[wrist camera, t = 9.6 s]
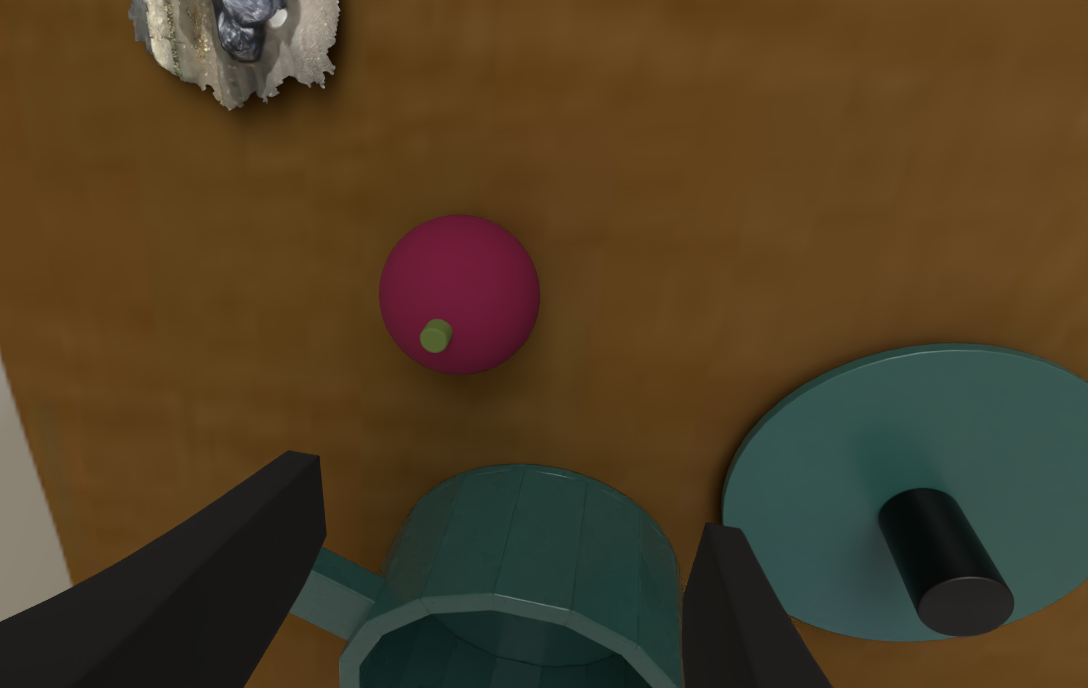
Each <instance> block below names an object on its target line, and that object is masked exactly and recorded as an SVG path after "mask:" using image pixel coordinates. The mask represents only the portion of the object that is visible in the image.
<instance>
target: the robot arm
mask: <svg viewBox="0 0 1088 688" xmlns="http://www.w3.org/2000/svg"><path fill="white" fill-rule="evenodd" d="M326 535H327V534H326V523H325V512H324V501H323V490H322V479H321V468H320V457H319V456H317V455H312V454H306V453H300V452H294V451H289V450H288V451H287V452H285V453H284V454H282V455H281V456H279V457H278V458H276V459H275V460H273V461H272V462H271V463H269V464H268V465H266V466H265V467H263V468H262V469H260V470H259V471H258V472H256V473H255V474H253V475H252V476H250V477H249V478H247V479H246V480H245V481H243V482H242V483H240V484H239V485H237V486H236V487H235V488H233V489H232V490H230V491H229V492H227V493H226V494H224V495H223V496H222V497H220V498H219V499H217V500H216V501H214V502H213V503H211V504H210V505H208V506H207V507H205V508H204V509H202V510H201V511H199V512H198V513H196V514H195V515H193V516H192V517H190V518H189V519H187V520H186V521H184V522H183V523H181V524H180V525H178V526H176V527H175V528H173V529H172V530H170V531H168V532H167V533H165V534H164V535H162V536H160V537H159V538H157V539H155V540H154V541H152V542H151V543H149V544H147V545H146V546H144V547H143V548H141V549H139V550H138V551H136V552H134V553H133V554H131V555H130V556H128V557H126V558H124V559H123V560H121V561H119V562H117V563H116V564H114V565H112V566H110V567H109V568H107V569H105V570H103V571H101V572H100V573H98V574H96V575H94V576H92V577H90V578H88V579H87V580H85V581H83V582H81V583H79V584H77V585H75V586H73V587H71V588H69V589H68V590H66V591H64V592H62V593H60V594H58V595H56V596H54V597H52V598H50V599H48V600H46V601H44V602H42V603H40V604H38V605H35V606H33V607H31V608H29V609H27V610H25V611H22V612H20V613H18V614H16V615H14V616H12V617H9V618H7V619H5V620H3V621H1V622H0V688H244V686H245V684H246V683H247V681H248V679H249V678H250V676H251V674H252V673H253V671H254V669H255V668H256V666H257V664H258V663H259V661H260V659H261V658H262V656H263V654H264V653H265V651H266V649H267V648H268V646H269V644H270V643H271V641H272V639H273V638H274V636H275V634H276V633H277V631H278V629H279V628H280V626H281V624H282V623H283V621H284V619H285V618H286V616H287V614H288V613H289V611H290V609H291V608H292V606H293V604H294V602H295V601H296V599H297V597H298V596H299V594H300V592H301V590H302V589H303V587H304V585H305V583H306V581H307V579H308V576H309V574H310V572H311V570H312V568H313V566H314V563H315V561H316V559H317V556H318V554H319V552H320V549H321V547H322V545H323V542H324V540H325V538H326ZM682 660H683V671H684V680H685V688H833V687H832V685H831V684H830V682H829V681H828V679H827V678H826V676H825V675H824V673H823V672H822V670H821V669H820V667H819V665H818V664H817V662H816V661H815V659H814V658H813V656H812V654H811V653H810V651H809V650H808V648H807V646H806V645H805V643H804V641H803V640H802V638H801V636H800V635H799V633H798V631H797V630H796V628H795V626H794V625H793V623H792V621H791V620H790V618H789V616H788V615H787V613H786V611H785V609H784V608H783V606H782V604H781V602H780V601H779V599H778V597H777V595H776V593H775V591H774V590H773V588H772V586H771V584H770V582H769V580H768V579H767V577H766V575H765V573H764V571H763V569H762V567H761V565H760V563H759V561H758V560H757V558H756V556H755V554H754V552H753V550H752V548H751V546H750V544H749V542H748V540H747V538H746V536H745V534H744V533H743V531H742V530H741V529H740V528H735V527H729V526H723V525H718V524H712V523H706V524H705V528H704V531H703V534H702V537H701V541H700V544H699V547H698V550H697V554H696V557H695V560H694V563H693V567H692V570H691V573H690V577H689V580H688V583H687V586H686V590H685V593H684V596H683V599H682Z"/></svg>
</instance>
